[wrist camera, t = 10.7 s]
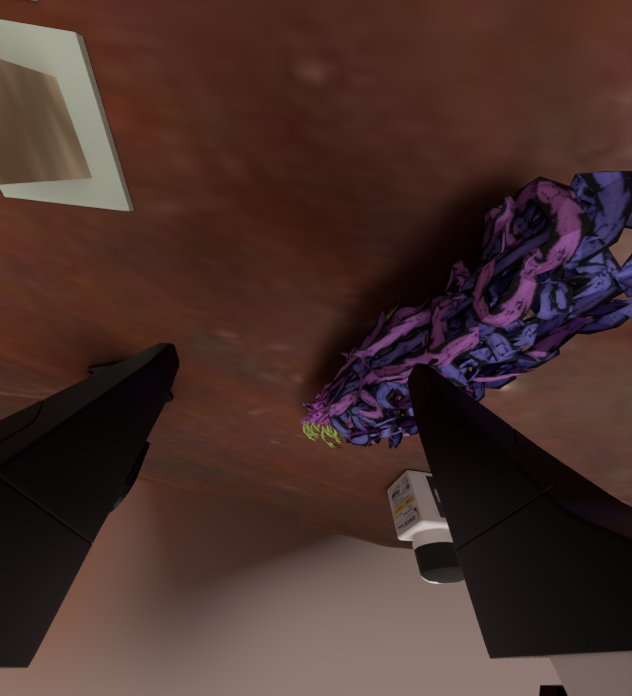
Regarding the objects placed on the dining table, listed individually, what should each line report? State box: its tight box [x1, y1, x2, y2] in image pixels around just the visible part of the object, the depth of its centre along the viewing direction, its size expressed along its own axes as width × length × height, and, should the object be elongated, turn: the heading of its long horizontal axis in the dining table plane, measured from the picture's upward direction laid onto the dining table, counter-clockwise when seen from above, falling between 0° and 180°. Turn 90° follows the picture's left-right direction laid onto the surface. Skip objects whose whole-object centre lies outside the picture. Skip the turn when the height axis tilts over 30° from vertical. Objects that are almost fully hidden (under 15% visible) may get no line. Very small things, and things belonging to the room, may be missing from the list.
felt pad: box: [0, 20, 134, 211], centre depth 15 cm, size 8×8×1 cm
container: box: [387, 470, 464, 584], centre depth 38 cm, size 8×8×13 cm
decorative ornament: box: [301, 171, 632, 448], centre depth 21 cm, size 13×11×30 cm
